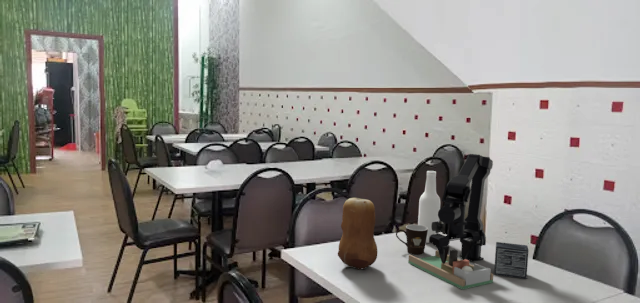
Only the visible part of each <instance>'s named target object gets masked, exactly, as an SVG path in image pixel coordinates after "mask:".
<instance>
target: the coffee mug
mask: <svg viewBox="0 0 640 303" xmlns="http://www.w3.org/2000/svg"><path fill="white" fill-rule="evenodd" d="M399 232H403V233H404V235H405V237H406V242H405V241H403V240H402V239H401V238H400V237H399V235H398V233H399ZM427 232H428V228H427V227H425V226H422V225H418V224H408V225H405V229H397V230H396V232H395V237H396V238H397V239H398V240H399V241H400V242H401V243H402V244H404V245H405V246H406V250H407V253H408V254H409V255H413V256H414V255H415V256H419V255H424V254H425V248H426V244H427V243H426V238H427Z"/></svg>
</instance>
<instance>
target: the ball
mask: <svg viewBox="0 0 640 303" xmlns="http://www.w3.org/2000/svg"><path fill="white" fill-rule="evenodd" d="M462 270H464V271H466V272H470V271H473V269H472V268H471V267H469V266H464V267H463V268H462Z"/></svg>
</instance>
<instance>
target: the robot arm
mask: <svg viewBox="0 0 640 303" xmlns="http://www.w3.org/2000/svg"><path fill="white" fill-rule="evenodd" d="M493 162H494V161H493V159H491V158H490V156H482V155H480V154H476V153H475V154H474V153H469V154H467V155H466V159H465V162H464V163H463V165H462V167H461V168H460V171H459V172H458V174H457V175H456V176H453V177H451V179H450V180H449V181H448V183H447V184H446V185H445V189H444V192H443V194H442V198H441V202H444V204H443V206H442V207H440V210H439V212H438V217H439V222H438V221H437V222H432V226H431V227H432V231H436V233H439V234H432V235H431V236H430V237H429V242H430V243H429V244H431V245H433V246H435V247H436V250H438V252H439V255H440V258H441V261H442V263H443V264H445V262H446V259H447V255H449V251H450V247H451V246H449V244H450V242H453V241H459V242H460V243H461V253H460V255H459V258H461V260H465V259H466V260H469V262H477V261H482V260H485V259H484V257H483V256H481V254H482V246H486V244H487V236H486V233H485V230H484V223H483V222H482V219H481V213H482V204H483V196H484V187H485V181H486V179H487V178H488V177H489V176H490V174H491V172H492V169H493V165H494V163H493ZM467 203H468V208H467V207H466V204H467ZM466 208H467V215H466ZM465 216H466V217H465ZM440 222H441V223H440ZM441 233H442V234H441Z"/></svg>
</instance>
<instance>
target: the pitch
mask: <svg viewBox="0 0 640 303" xmlns="http://www.w3.org/2000/svg"><path fill="white" fill-rule="evenodd" d="M460 260H461V259H460V258H457V261H460ZM407 262H408V264H409V263H410V265H412V266H414V267H416V268H418V269H420V270H422V271H424V272H425V273H428V274H430V275H431V276H433V277H436V278H438V279H440V280H442V281H444V282H446V283H448V284H450V285H452V286H454V287H457V288H459V289H461V290H467V289H469V288H474V287H480V286H484V285H488V284H492V283H494V272H493V273H492V271H491V268H490V267H486V266H484V265H481V264H478V263H477V262H476V263H475V262H474V263H473V264H471V263H469V267H471V268H472V269H473V271H470V272H466V271H464V270H462V269H460V268H457V267H454V275H453V274H452V273H449V272H447V271H445V270H443V269H441V263H442V261H441V258H440V255H439V252H438V249H436V250H435V255H430V256H426V257H425V256H424V257H420V258H419V257H417V256H416V255H415V256H414V254H408V260H407ZM446 262H449V254H448V255H447V259H446Z"/></svg>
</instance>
